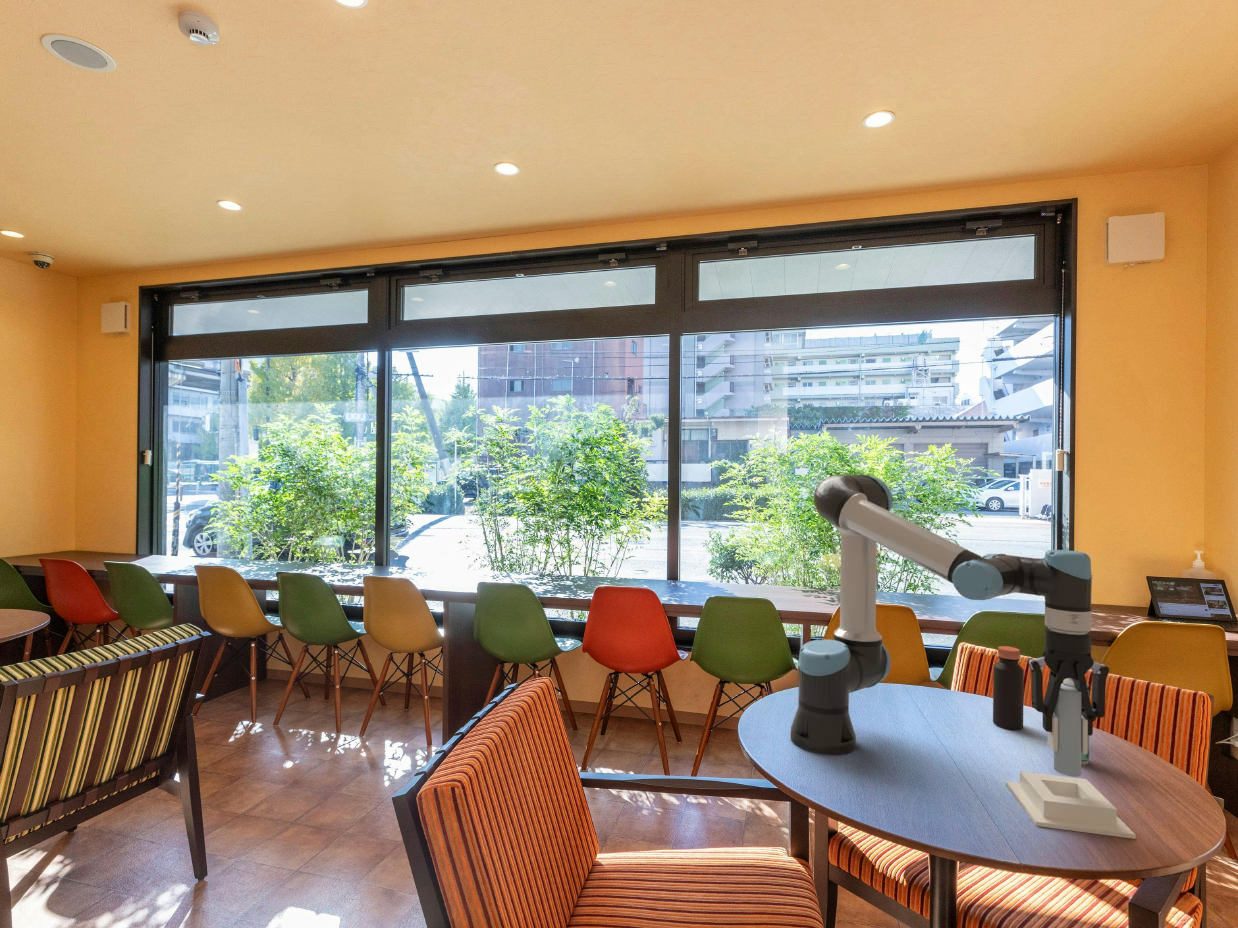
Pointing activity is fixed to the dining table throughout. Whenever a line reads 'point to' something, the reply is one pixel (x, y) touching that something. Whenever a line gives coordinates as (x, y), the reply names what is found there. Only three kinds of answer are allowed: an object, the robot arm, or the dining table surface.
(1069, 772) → the peg
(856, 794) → the dining table surface
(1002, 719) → the bottle
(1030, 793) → the socket
